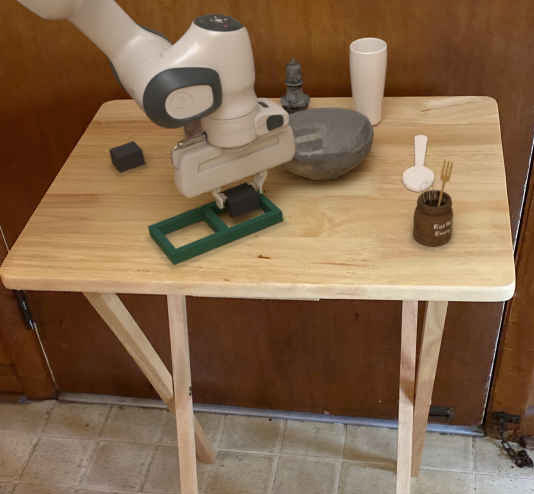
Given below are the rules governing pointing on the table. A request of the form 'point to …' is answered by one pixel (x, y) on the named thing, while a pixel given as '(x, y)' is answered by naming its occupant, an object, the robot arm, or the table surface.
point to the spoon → (418, 168)
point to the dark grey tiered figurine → (294, 90)
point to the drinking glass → (368, 76)
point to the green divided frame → (215, 223)
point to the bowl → (328, 142)
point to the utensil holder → (434, 213)
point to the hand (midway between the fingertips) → (239, 199)
